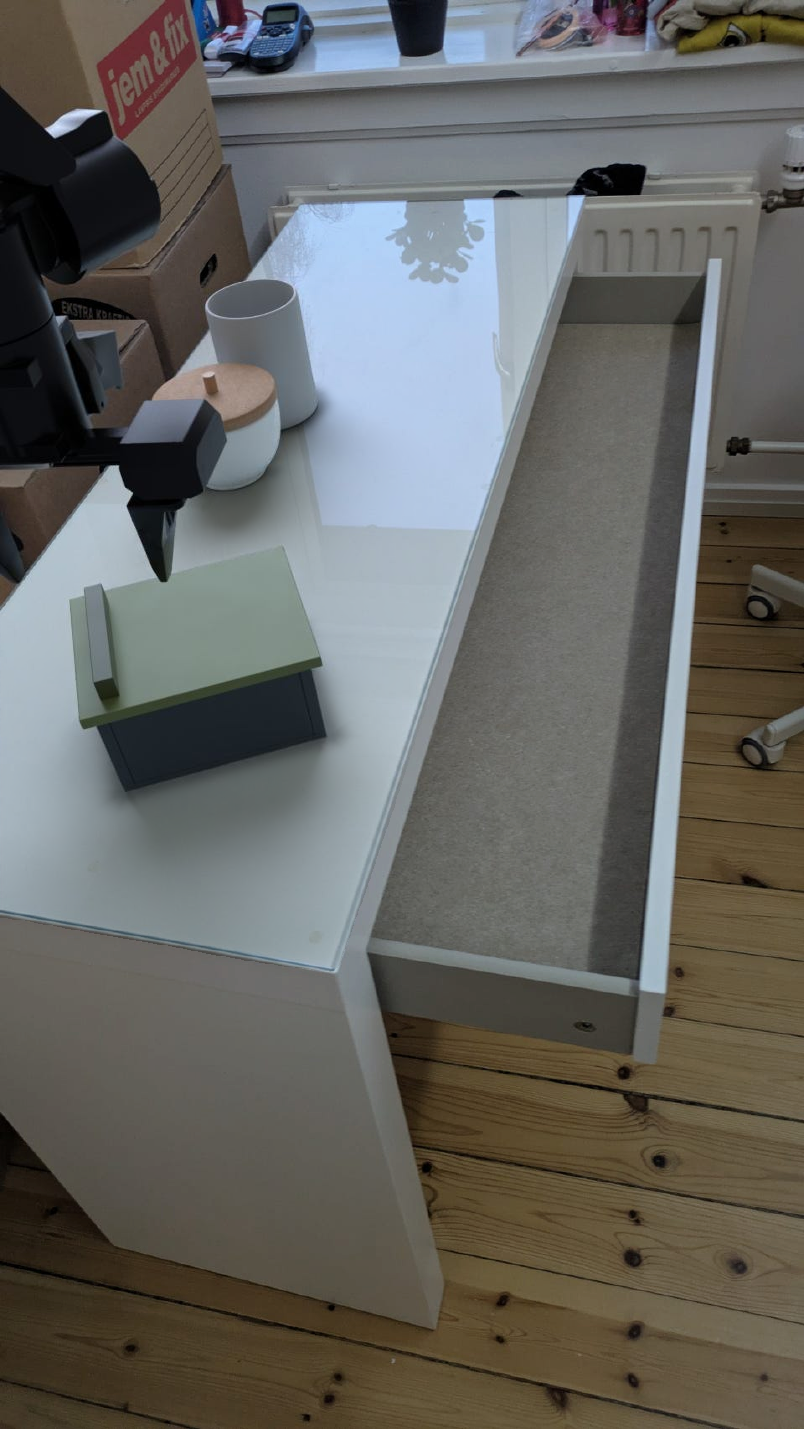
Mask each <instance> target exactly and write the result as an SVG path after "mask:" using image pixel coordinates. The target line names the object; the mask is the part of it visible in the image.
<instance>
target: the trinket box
mask: <svg viewBox="0 0 804 1429" xmlns="http://www.w3.org/2000/svg"><path fill="white" fill-rule="evenodd" d="M178 399H205V400H207V401H208V402H209V403H210V404H211V405H212V406H213V407H214V408H215V409H216V410H217V411H218V412H219V413H220V414H221V417H222V421H223V425H224V429H225V434H226V438H227V443H226V445H225V447H224V449H223V451H222V453H221V456H220V458H219V460H218V462H217V464H216V467H215V469H214V471H213V473H212V475H211V478H210V480H209V482H208V484H207V486H206V488H207V489H210V490H215V491H231V490H232V491H233V490H237V489H241V488H244V487H246V486H250V485H251V484H253V483H255V482H256V481H258V480H259V479H260V478H261V477H262V476H263V475H264V474H265V472H266V470H267V467H268V466H269V464H271V462H272V460H273V459H274V457H275V455H276V452H277V450H278V448H279V443H280V439H281V431H282V430H281V423H280V411H279V405H278V399H277V388H276V383H275V380H274V378H273V377H272V375H271V374H270V373H269V372H267V371H266V370H264V369H262V368H260V367H258V366H254V365H250V364H244V363H221V364H218V363H214V364H209V365H208V364H207V365H203V366H200V367H197V368H192V369H190V370H187V371H185V372H182V373H180V374H178V375H176V376H174V377H172V378H171V379H169V380H167V381H166V382H164V383H163V384H162V385H161V386H160V387H159V388H158V389H157V390H156V392H154V394H153V396H152V398H151V401H152V400H178Z"/></svg>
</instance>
